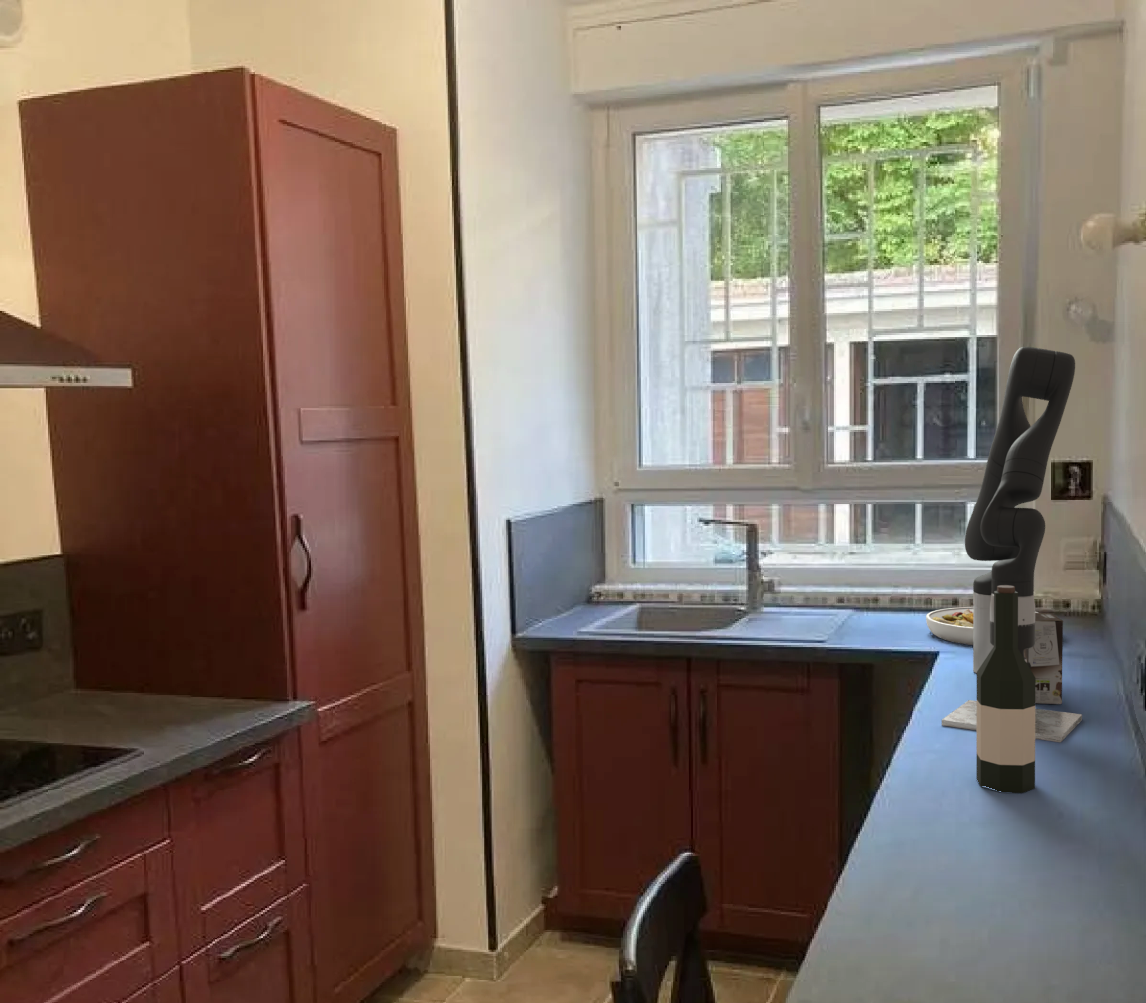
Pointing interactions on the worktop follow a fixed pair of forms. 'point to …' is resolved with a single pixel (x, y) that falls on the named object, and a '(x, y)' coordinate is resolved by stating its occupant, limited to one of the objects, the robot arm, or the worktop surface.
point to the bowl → (952, 624)
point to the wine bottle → (1006, 705)
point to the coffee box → (1047, 658)
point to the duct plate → (1046, 721)
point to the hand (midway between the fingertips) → (1012, 711)
